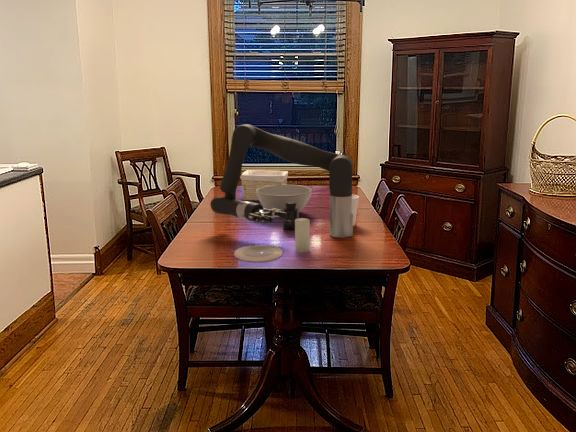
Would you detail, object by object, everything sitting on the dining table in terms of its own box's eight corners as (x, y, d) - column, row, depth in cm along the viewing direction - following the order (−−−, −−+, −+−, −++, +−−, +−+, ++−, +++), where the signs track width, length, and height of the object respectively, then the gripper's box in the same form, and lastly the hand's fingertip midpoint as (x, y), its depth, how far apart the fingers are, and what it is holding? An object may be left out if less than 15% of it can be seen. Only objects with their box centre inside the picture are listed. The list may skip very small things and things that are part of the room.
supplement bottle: (285, 231, 238) (284, 204, 235) (281, 227, 245) (280, 201, 242) (300, 230, 240) (300, 203, 237) (296, 226, 246) (295, 200, 243)
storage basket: (289, 196, 309) (288, 170, 305) (284, 202, 293) (284, 175, 290) (247, 195, 312) (246, 169, 309) (240, 201, 297) (239, 174, 293)
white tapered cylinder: (308, 247, 215) (308, 218, 212) (310, 252, 210) (310, 221, 207) (294, 248, 215) (294, 218, 212) (295, 252, 210) (295, 222, 207)
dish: (280, 246, 218) (280, 244, 217) (283, 260, 200) (283, 258, 200) (234, 247, 216) (234, 245, 216) (234, 262, 199) (233, 260, 199)
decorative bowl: (313, 208, 280) (313, 184, 277) (310, 221, 254) (310, 195, 251) (260, 207, 283) (260, 184, 280) (252, 220, 257) (251, 195, 254)
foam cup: (345, 221, 254) (345, 193, 251) (362, 224, 249) (362, 195, 245) (333, 225, 247) (333, 196, 244) (350, 228, 242) (351, 199, 238)
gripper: (237, 205, 221) (267, 211, 211) (261, 199, 231) (291, 205, 221) (237, 223, 223) (267, 230, 213) (261, 216, 233) (291, 223, 223)
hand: (279, 217), depth 217 cm, fingers open, 8 cm apart
